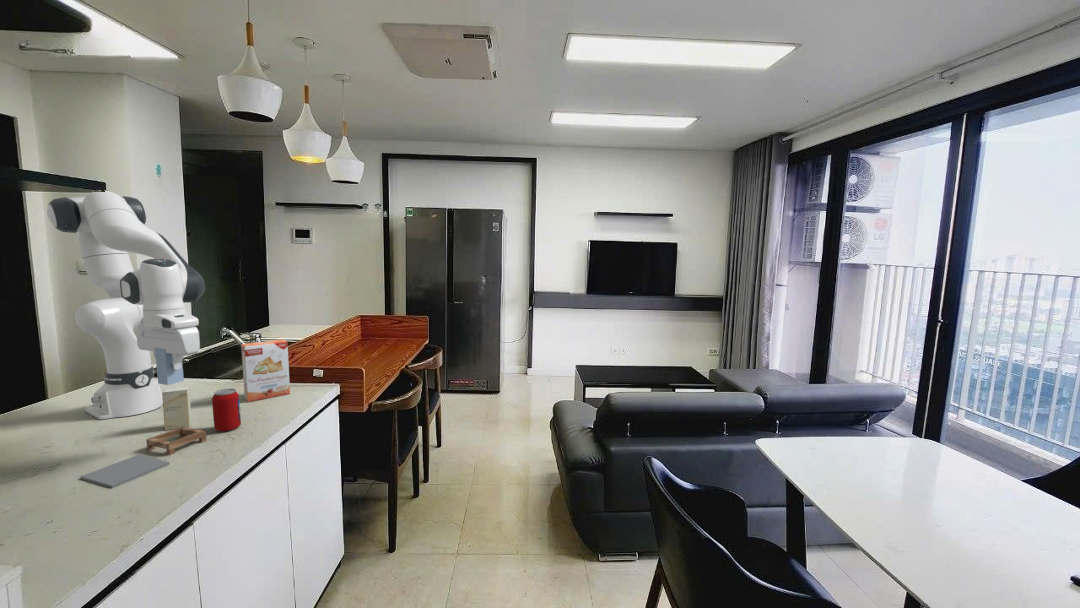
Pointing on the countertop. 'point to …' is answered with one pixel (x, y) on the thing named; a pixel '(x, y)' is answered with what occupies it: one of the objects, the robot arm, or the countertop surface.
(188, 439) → the wooden square frame
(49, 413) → the countertop surface
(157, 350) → the peg
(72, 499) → the countertop surface
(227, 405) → the beverage can
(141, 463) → the mat
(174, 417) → the skincare box
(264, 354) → the cracker box
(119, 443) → the countertop surface
